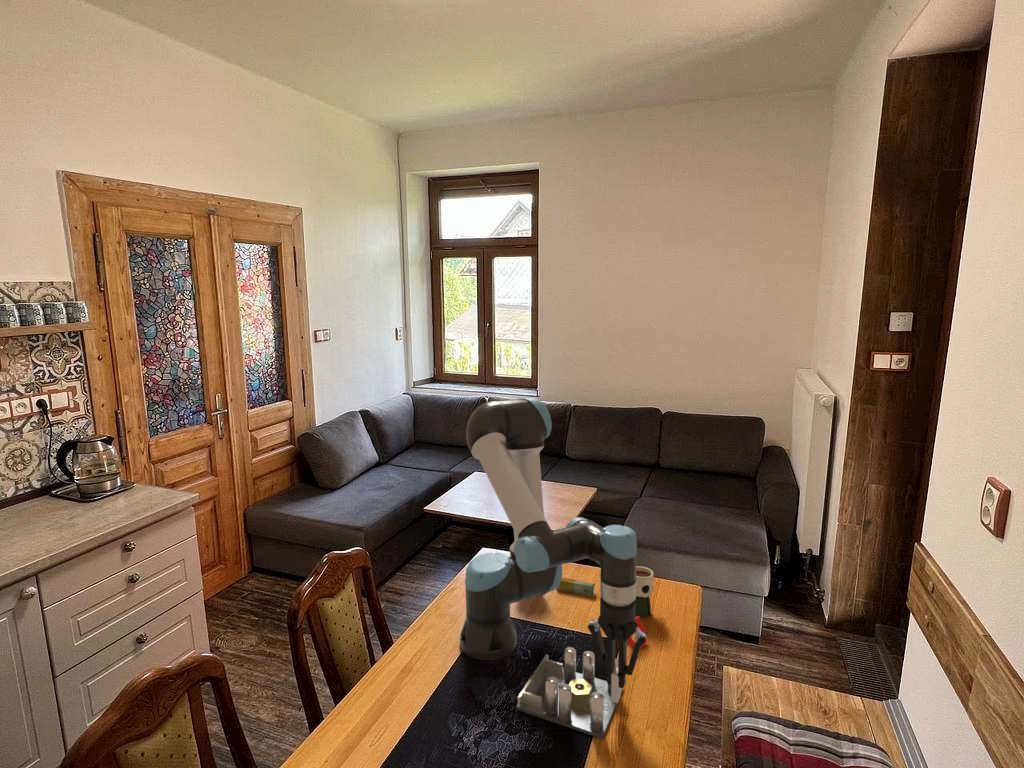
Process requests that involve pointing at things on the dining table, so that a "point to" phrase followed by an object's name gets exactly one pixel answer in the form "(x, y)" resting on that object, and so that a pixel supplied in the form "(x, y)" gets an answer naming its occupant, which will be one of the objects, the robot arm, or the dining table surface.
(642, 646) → the tow hook
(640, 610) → the character mug
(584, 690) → the nut
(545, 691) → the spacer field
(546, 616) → the dining table surface
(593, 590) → the medication box
